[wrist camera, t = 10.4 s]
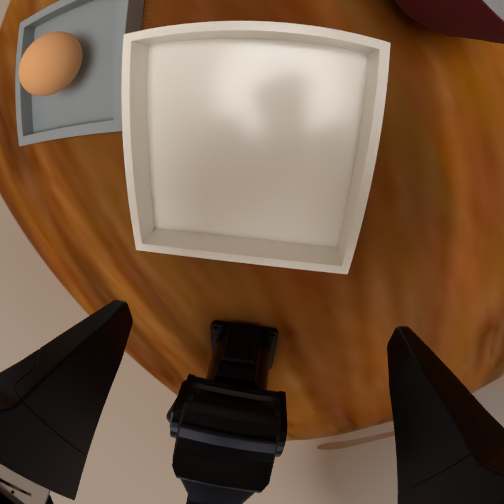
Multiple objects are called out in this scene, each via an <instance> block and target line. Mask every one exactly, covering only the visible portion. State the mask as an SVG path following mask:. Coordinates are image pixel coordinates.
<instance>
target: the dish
mask: <svg viewBox="0 0 504 504" xmlns="http://www.w3.org/2000/svg"><path fill="white" fill-rule="evenodd" d="M389 57H390V43H389V42H386V41H382V40H379V39H375V38H371V37H367V36H363V35H359V34H355V33H350V32H346V31H341V30H335V29H330V28H324V27H317V26H310V25H302V24H293V23H282V22H266V21H216V22H200V23H189V24H180V25H172V26H165V27H159V28H153V29H147V30H142V31H137V32H132V33H128V34H124V36H123V52H122V84H121V98H122V132H123V148H124V162H125V173H126V182H127V191H128V199H129V207H130V214H131V221H132V228H133V234H134V240H135V246H136V250H141V251H149V252H157V253H165V254H173V255H181V256H189V257H197V258H206V259H214V260H223V261H231V262H240V263H248V264H257V265H266V266H275V267H284V268H293V269H302V270H311V271H321V272H330V273H339V274H348V272H349V268H350V265H351V262H352V258H353V255H354V251H355V248H356V244H357V240H358V237H359V233H360V229H361V225H362V221H363V217H364V213H365V209H366V205H367V200H368V196H369V191H370V187H371V182H372V177H373V173H374V168H375V162H376V157H377V152H378V146H379V140H380V134H381V128H382V121H383V114H384V106H385V98H386V90H387V80H388V69H389Z"/></svg>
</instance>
